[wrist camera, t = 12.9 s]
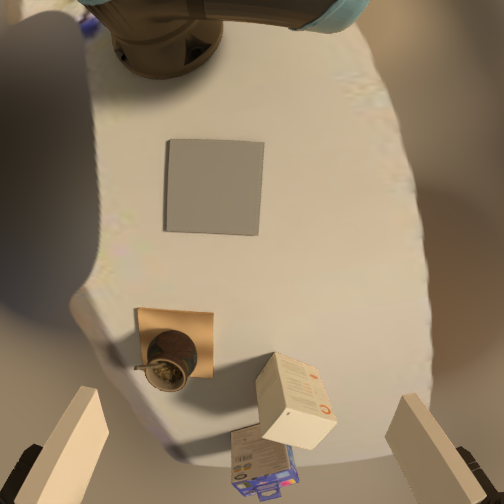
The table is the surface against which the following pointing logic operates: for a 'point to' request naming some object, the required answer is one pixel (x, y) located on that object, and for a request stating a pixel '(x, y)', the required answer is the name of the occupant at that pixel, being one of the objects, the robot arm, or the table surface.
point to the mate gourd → (170, 360)
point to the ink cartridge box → (260, 464)
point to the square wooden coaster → (186, 322)
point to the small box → (293, 403)
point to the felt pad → (214, 186)
